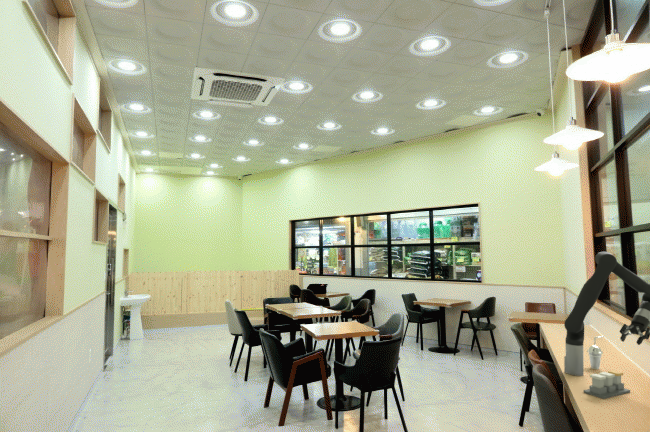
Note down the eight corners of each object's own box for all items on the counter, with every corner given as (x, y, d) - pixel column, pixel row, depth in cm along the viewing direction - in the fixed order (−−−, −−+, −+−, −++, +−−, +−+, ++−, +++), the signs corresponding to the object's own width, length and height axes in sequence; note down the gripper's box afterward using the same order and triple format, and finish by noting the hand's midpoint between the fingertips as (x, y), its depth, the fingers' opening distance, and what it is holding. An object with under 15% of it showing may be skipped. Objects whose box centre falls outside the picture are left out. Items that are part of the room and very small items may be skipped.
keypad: (603, 399, 215) (603, 390, 215) (583, 392, 224) (583, 384, 224) (630, 392, 226) (630, 384, 226) (610, 386, 235) (610, 378, 235)
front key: (600, 389, 218) (600, 377, 218) (590, 386, 222) (590, 374, 223) (605, 388, 220) (605, 376, 221) (595, 385, 225) (595, 373, 225)
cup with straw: (587, 365, 276) (586, 333, 278) (604, 367, 272) (603, 335, 273) (587, 368, 269) (586, 335, 270) (604, 371, 265) (604, 337, 266)
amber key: (618, 385, 226) (617, 373, 226) (608, 382, 230) (607, 371, 230) (623, 384, 228) (623, 372, 228) (613, 381, 232) (613, 370, 233)
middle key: (609, 387, 222) (609, 375, 222) (599, 384, 226) (599, 372, 227) (614, 386, 224) (614, 374, 224) (604, 383, 229) (604, 371, 229)
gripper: (625, 312, 246) (613, 335, 241) (652, 316, 233) (639, 340, 228) (632, 321, 248) (620, 344, 243) (659, 325, 235) (647, 349, 230)
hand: (629, 342), depth 236 cm, fingers open, 8 cm apart
